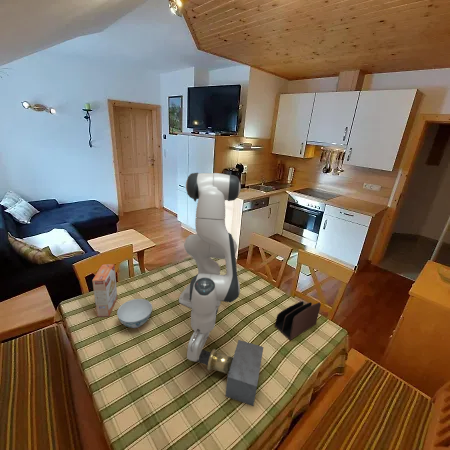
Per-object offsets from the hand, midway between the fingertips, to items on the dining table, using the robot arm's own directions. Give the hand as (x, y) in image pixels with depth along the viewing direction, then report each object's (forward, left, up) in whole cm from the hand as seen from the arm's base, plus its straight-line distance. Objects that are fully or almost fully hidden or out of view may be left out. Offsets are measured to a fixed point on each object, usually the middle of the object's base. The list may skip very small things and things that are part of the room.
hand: (201, 347), depth 90 cm
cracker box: (-55, +13, -9) cm, 58 cm away
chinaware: (-36, +9, -9) cm, 38 cm away
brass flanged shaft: (+5, -1, -7) cm, 9 cm away
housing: (+18, -1, -9) cm, 20 cm away
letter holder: (+36, +35, -9) cm, 51 cm away
